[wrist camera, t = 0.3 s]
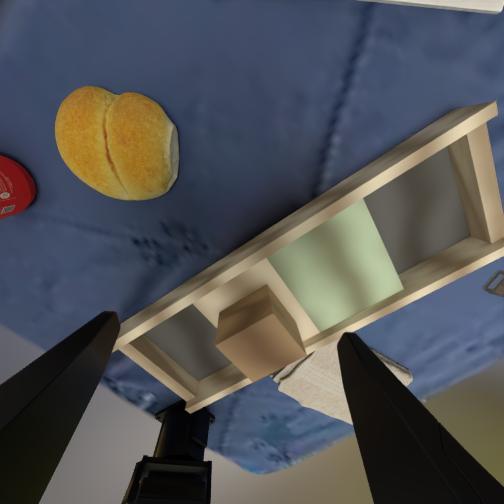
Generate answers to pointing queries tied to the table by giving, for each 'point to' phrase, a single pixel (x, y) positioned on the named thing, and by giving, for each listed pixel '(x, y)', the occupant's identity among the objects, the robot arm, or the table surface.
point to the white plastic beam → (452, 4)
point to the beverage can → (14, 187)
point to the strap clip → (496, 285)
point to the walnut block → (259, 335)
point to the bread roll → (118, 143)
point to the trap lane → (338, 256)
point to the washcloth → (324, 381)
